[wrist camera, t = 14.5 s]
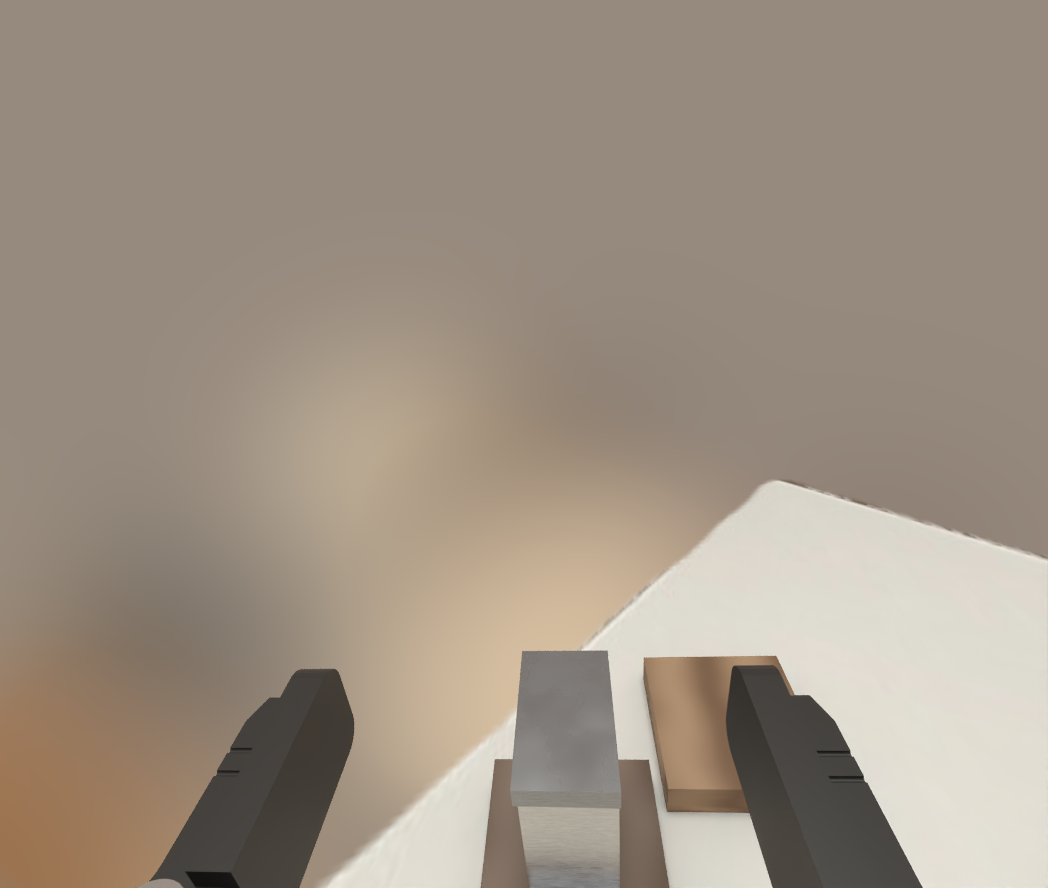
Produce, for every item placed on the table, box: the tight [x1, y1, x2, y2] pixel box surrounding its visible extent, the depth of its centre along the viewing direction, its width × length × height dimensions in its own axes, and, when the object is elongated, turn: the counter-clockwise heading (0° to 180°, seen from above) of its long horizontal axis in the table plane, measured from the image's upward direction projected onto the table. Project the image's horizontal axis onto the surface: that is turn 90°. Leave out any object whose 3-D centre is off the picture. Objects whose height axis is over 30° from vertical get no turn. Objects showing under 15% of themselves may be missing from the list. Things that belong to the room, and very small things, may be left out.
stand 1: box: [481, 759, 669, 888], centre depth 33 cm, size 11×11×2 cm
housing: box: [510, 651, 621, 888], centre depth 30 cm, size 5×8×12 cm, turn 176°
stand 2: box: [643, 656, 794, 812], centre depth 40 cm, size 11×11×2 cm
